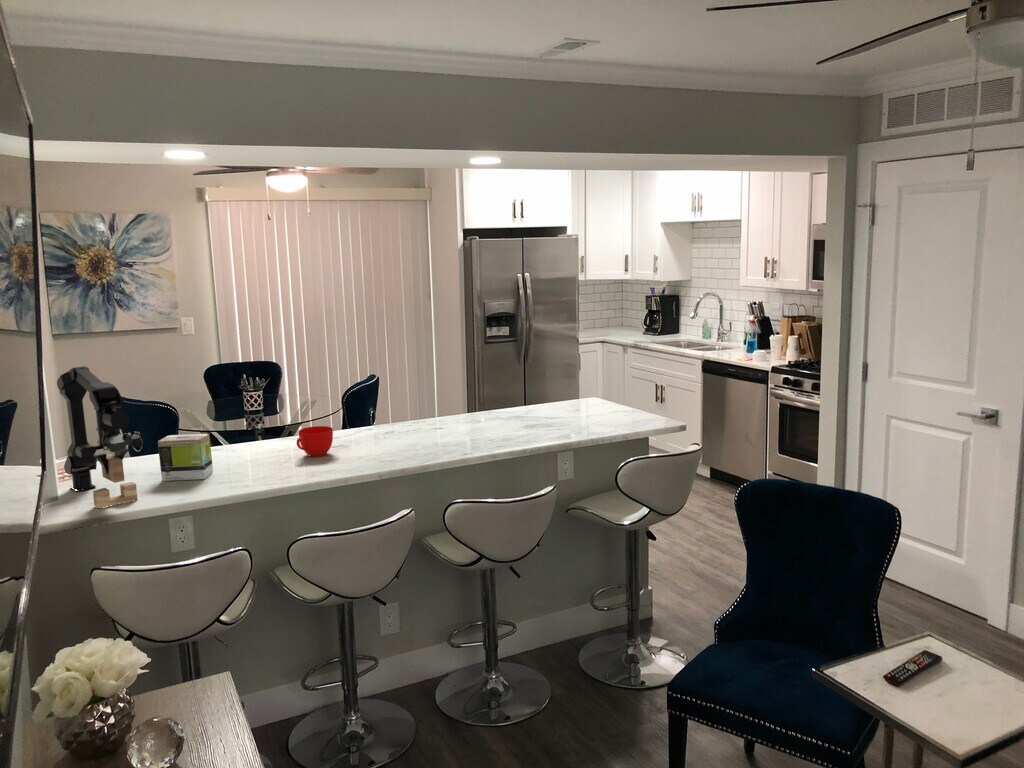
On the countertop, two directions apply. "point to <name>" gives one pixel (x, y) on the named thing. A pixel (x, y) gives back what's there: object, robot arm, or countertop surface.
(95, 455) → the robot arm
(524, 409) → the countertop surface
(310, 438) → the ceramic cup
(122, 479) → the tan wooden beam
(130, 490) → the u-shaped oak block
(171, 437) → the tea box
